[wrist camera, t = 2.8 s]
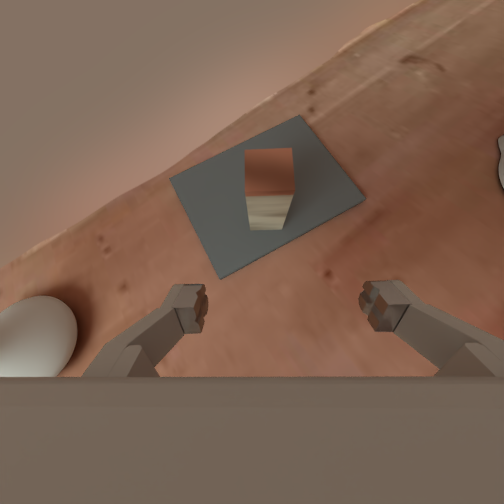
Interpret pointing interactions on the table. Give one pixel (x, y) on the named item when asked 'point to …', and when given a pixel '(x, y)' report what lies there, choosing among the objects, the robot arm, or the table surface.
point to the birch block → (268, 187)
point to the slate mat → (234, 201)
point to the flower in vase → (36, 337)
